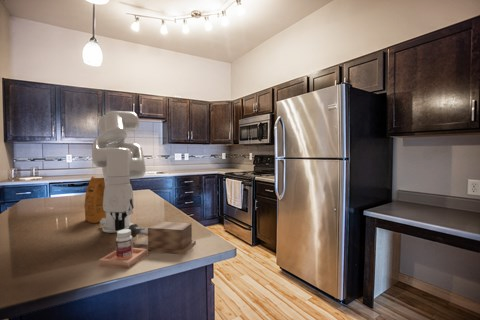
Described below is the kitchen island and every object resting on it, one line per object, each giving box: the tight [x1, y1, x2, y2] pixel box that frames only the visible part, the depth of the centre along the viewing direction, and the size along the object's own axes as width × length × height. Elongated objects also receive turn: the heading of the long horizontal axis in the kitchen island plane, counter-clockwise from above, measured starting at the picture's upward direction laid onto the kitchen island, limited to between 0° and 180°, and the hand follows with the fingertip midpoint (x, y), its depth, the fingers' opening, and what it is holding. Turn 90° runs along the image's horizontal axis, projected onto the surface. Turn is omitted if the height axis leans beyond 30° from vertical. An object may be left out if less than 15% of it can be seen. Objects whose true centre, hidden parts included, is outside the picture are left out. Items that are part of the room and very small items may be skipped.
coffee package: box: [84, 175, 106, 224], centre depth 121 cm, size 10×12×22 cm
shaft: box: [129, 223, 148, 239], centre depth 88 cm, size 13×5×5 cm, turn 78°
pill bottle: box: [115, 229, 134, 260], centre depth 76 cm, size 5×5×8 cm
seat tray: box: [98, 248, 149, 269], centre depth 76 cm, size 10×10×2 cm
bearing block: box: [133, 221, 197, 255], centre depth 87 cm, size 22×10×8 cm, turn 78°
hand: (120, 229), depth 90 cm, fingers closed
